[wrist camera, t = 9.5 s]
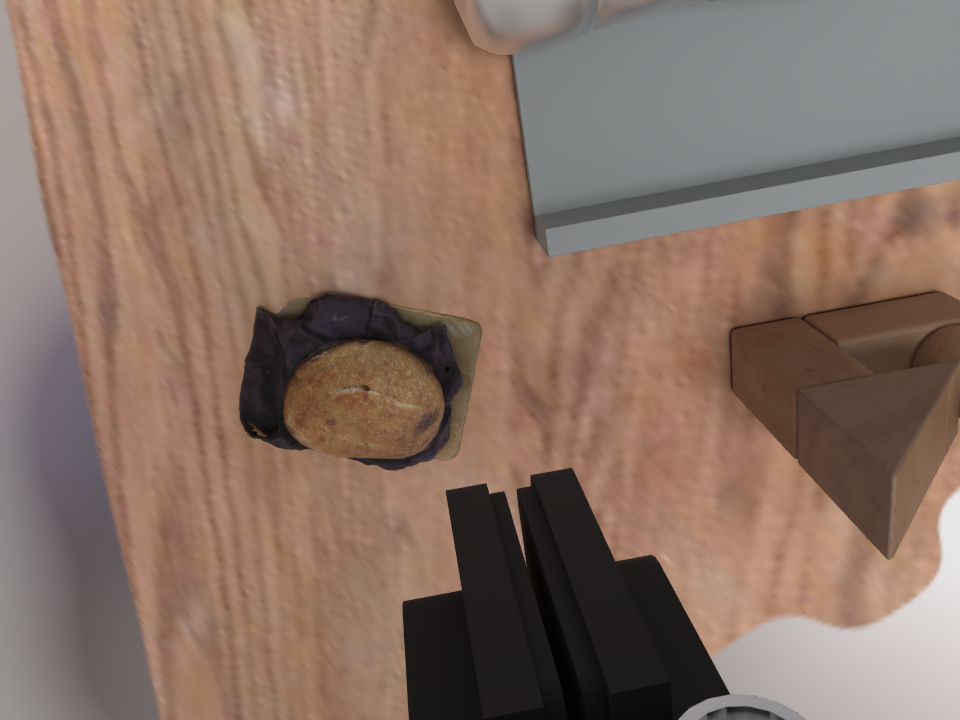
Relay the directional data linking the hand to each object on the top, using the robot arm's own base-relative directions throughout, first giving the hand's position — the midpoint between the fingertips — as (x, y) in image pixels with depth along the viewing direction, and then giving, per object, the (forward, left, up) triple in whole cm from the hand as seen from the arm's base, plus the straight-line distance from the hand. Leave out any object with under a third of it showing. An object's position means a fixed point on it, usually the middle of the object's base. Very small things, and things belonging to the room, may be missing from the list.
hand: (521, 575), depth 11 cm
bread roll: (-9, +4, -29) cm, 31 cm away
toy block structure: (-12, -19, -28) cm, 36 cm away
